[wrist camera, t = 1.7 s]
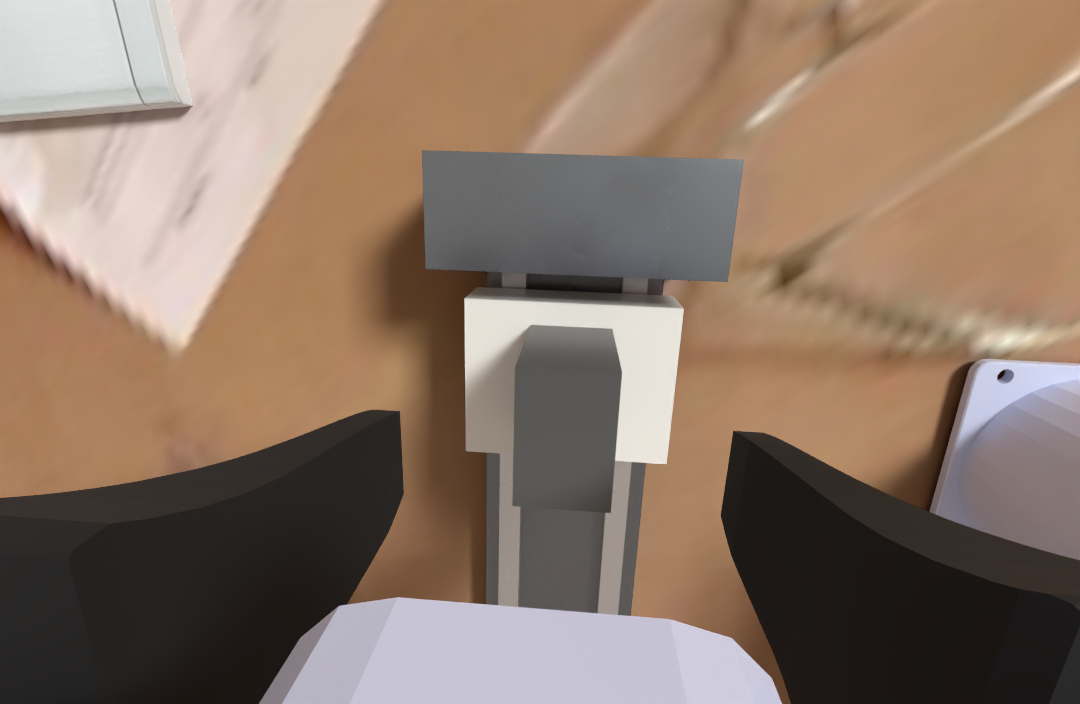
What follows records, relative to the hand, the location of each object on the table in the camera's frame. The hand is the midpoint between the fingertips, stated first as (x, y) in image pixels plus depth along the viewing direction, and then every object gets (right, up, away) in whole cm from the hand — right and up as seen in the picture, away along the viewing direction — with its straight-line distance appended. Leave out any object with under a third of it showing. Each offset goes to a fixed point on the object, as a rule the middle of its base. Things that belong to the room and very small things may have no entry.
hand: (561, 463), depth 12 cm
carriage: (+1, +2, +7) cm, 7 cm away
